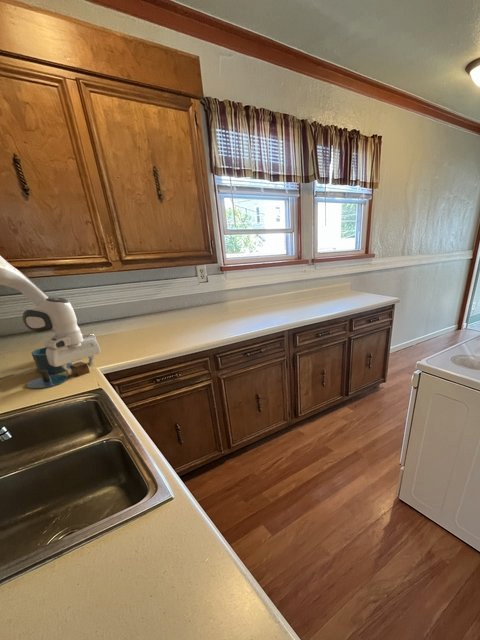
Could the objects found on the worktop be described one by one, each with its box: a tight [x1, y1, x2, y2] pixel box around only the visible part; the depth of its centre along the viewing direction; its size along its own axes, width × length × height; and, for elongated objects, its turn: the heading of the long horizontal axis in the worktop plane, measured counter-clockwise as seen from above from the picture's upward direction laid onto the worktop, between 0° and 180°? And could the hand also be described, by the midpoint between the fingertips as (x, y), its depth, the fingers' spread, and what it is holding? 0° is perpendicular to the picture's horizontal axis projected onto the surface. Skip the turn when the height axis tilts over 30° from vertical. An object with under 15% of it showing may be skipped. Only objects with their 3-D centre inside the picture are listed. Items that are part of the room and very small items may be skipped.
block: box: [69, 361, 91, 377], centre depth 141 cm, size 5×5×5 cm
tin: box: [31, 346, 73, 375], centre depth 144 cm, size 13×18×10 cm
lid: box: [26, 370, 69, 390], centre depth 132 cm, size 14×14×6 cm
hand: (80, 369), depth 141 cm, fingers open, 8 cm apart
